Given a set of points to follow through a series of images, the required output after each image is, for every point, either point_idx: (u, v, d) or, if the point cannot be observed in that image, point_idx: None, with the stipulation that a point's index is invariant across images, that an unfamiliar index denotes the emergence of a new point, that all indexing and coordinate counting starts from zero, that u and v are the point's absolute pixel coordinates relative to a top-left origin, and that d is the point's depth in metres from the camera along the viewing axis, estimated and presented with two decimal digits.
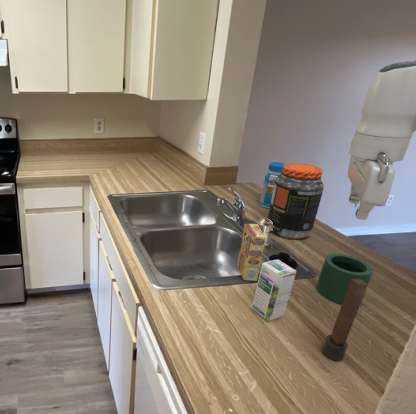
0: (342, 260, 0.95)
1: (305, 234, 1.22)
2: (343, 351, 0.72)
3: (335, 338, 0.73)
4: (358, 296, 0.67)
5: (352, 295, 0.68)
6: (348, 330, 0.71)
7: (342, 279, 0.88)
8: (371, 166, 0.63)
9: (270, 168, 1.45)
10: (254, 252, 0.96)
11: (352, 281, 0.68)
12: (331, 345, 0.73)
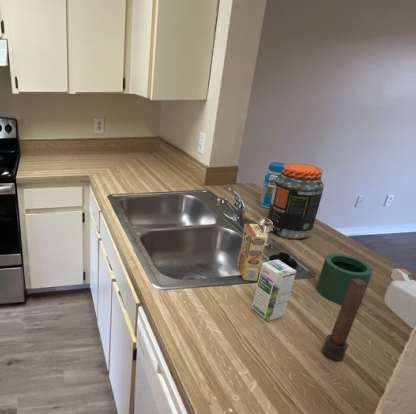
0: (342, 260, 0.95)
1: (305, 234, 1.22)
2: (343, 351, 0.72)
3: (335, 338, 0.73)
4: (358, 296, 0.67)
5: (352, 295, 0.68)
6: (348, 330, 0.71)
7: (342, 279, 0.88)
8: None
9: (270, 168, 1.45)
10: (254, 252, 0.96)
11: (352, 281, 0.68)
12: (331, 345, 0.73)
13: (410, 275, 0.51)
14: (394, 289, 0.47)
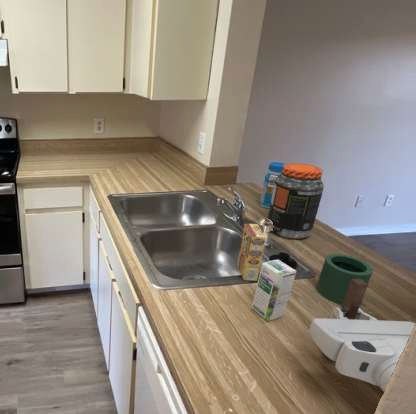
0: (342, 260, 0.95)
1: (305, 234, 1.22)
2: None
3: None
4: (358, 296, 0.67)
5: (352, 295, 0.68)
6: None
7: (342, 279, 0.88)
8: None
9: (270, 168, 1.45)
10: (254, 252, 0.96)
11: (352, 281, 0.68)
12: None
13: (345, 312, 0.69)
14: (314, 325, 0.66)
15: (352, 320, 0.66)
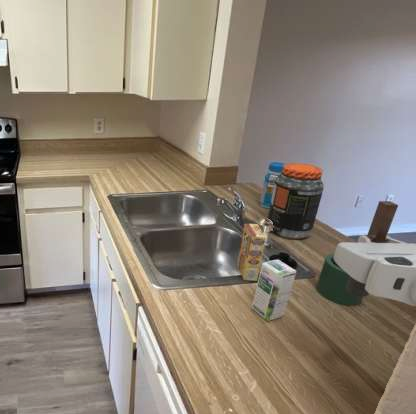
0: None
1: (305, 234, 1.22)
2: None
3: None
4: (387, 218, 0.61)
5: (380, 218, 0.62)
6: None
7: (342, 279, 0.88)
8: None
9: (270, 168, 1.45)
10: (254, 252, 0.96)
11: (380, 203, 0.62)
12: None
13: (372, 239, 0.64)
14: (339, 248, 0.60)
15: (381, 243, 0.60)
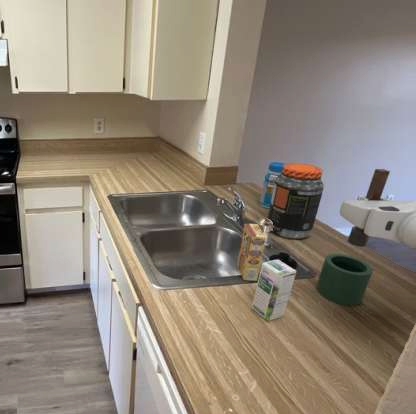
0: (342, 260, 0.95)
1: (305, 234, 1.22)
2: (367, 236, 0.84)
3: None
4: (381, 182, 0.79)
5: (376, 182, 0.80)
6: None
7: (342, 279, 0.88)
8: None
9: (270, 168, 1.45)
10: (254, 252, 0.96)
11: (376, 170, 0.80)
12: (356, 232, 0.85)
13: (369, 199, 0.81)
14: (344, 204, 0.78)
15: None
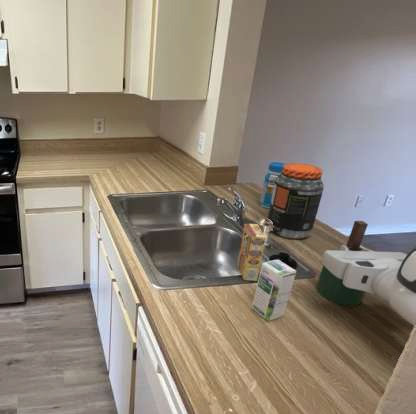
0: None
1: (305, 234, 1.22)
2: None
3: None
4: (360, 233, 0.86)
5: (355, 233, 0.86)
6: None
7: None
8: None
9: (270, 168, 1.45)
10: (254, 252, 0.96)
11: (355, 222, 0.86)
12: None
13: (350, 248, 0.88)
14: (326, 254, 0.84)
15: (355, 251, 0.84)
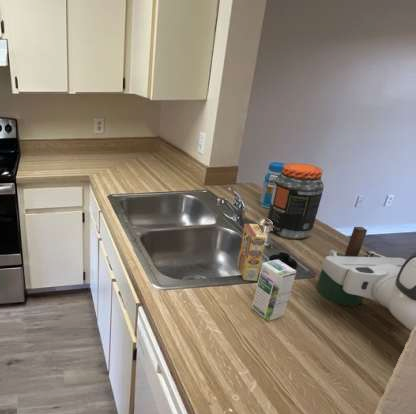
0: None
1: (305, 234, 1.22)
2: None
3: None
4: (360, 239, 0.87)
5: (355, 239, 0.87)
6: None
7: None
8: None
9: (270, 168, 1.45)
10: (254, 252, 0.96)
11: (355, 228, 0.87)
12: None
13: (338, 253, 0.89)
14: (326, 260, 0.85)
15: (355, 257, 0.85)
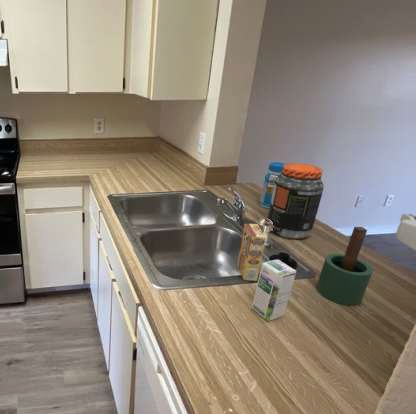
0: (342, 260, 0.95)
1: (305, 234, 1.22)
2: None
3: None
4: (360, 239, 0.87)
5: (355, 239, 0.87)
6: (351, 268, 0.90)
7: (342, 279, 0.88)
8: None
9: (270, 168, 1.45)
10: (254, 252, 0.96)
11: (355, 228, 0.87)
12: None
13: (415, 218, 0.65)
14: (404, 225, 0.61)
15: None
